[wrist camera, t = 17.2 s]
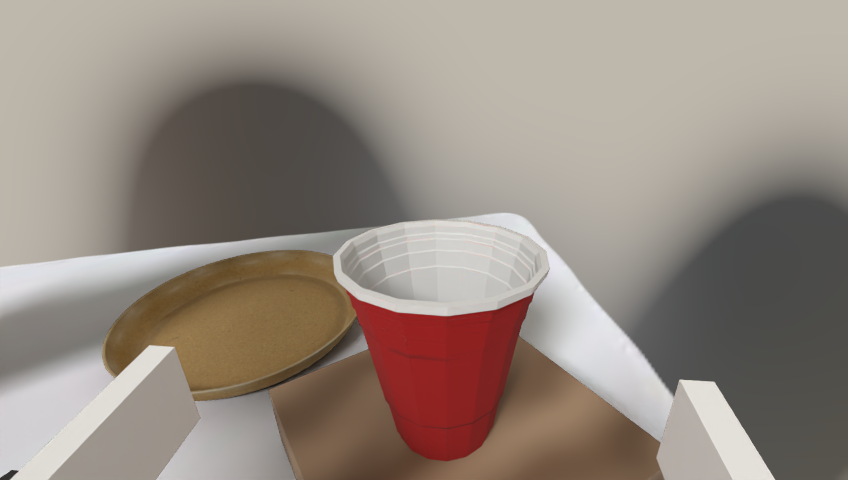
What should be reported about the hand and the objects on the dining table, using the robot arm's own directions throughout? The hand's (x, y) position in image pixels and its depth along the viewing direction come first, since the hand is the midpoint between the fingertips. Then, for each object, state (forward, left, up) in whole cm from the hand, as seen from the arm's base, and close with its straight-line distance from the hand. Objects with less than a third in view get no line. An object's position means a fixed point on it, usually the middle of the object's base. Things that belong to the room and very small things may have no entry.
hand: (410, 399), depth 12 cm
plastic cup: (-9, +7, -13) cm, 17 cm away
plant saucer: (-34, -1, -19) cm, 38 cm away
